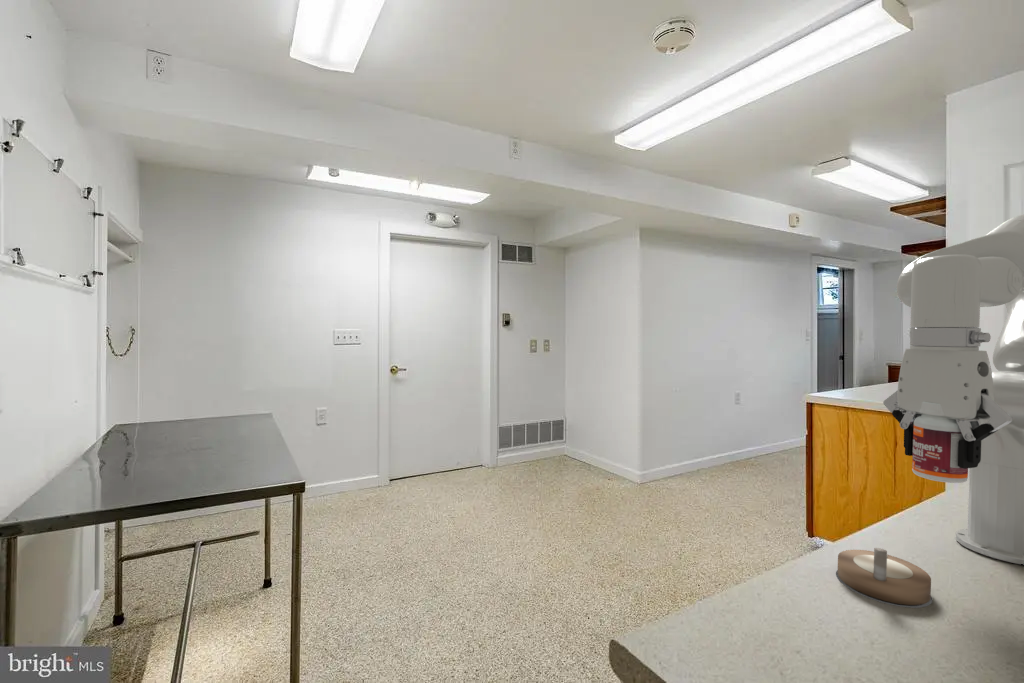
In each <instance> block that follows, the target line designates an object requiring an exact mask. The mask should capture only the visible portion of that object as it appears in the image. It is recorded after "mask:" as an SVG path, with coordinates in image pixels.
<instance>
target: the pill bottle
mask: <svg viewBox="0 0 1024 683" xmlns="http://www.w3.org/2000/svg"><path fill="white" fill-rule="evenodd" d="M920 412H921V413H925V414H922V416H919V417H917V418H915V420H914V431H913V456H912V461H911V462H912V464H911V470H912V472H913V474H915V475H916V476H918V477H920V478H924V479H926V480H930V481H933V482H934V481H935V482H941V483H948V484H949V483H951V484H953V483H954V484H962V483H965V482H967V481H968V480H969V468H967V469H964V468H960V467H959V466H958V442H959V440H963V435H962V433H961V430H960V428H959V426H958V423H957V421H956V419H949V418H944V417H942V416H945V414H944V412H943V410H942V407H941V405H940V404H938V403H930V402H922V405H921V409H920Z"/></svg>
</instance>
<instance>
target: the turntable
mask: <svg viewBox="0 0 1024 683" xmlns="http://www.w3.org/2000/svg"><path fill="white" fill-rule="evenodd" d="M837 570H838V576H839V578H840V579H841V580H842V581H843V582H844V583H846V584H847V585H849V586H850V587H852V588H854V589H855V590H857V591H859V592H862V593H864V594H866V595H869V596H871V597H874V598H877V599H881V600H884V601H888V602H892V603H898V604H905V605H921V604H925V603H927V602H929V601H930V598H931V596H932V593H931V592H932V577H931V576H930V575H929V573H928V572H926V570H924V569H922V568H921V567H919V566H917V565H916V564H914V563H912V562H909V561H908V560H905V559H902V558H900V557H897V556H894V555H891V554H888V551H887V550H886V549H885V548H881V547H874V549H873V550H867V549H846V550H843V551H840V552H839V553H838V554H837Z"/></svg>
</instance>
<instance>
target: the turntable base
mask: <svg viewBox="0 0 1024 683" xmlns="http://www.w3.org/2000/svg"><path fill="white" fill-rule="evenodd" d="M835 576H836V578H837V580H838V581H839V582H840V584H843V585H844V586H845V587H846V588H847V589H849V590H851V591H853V592H855V593H856V594H858V595H860V596H862V597H865V598H868V599H871V600H872V601H877V602H879V603H882V604H887V605H890V606H896V607H902V608H912V609H913V608H914V609H915V608H918V609H919V608H926V607H928V606H930V605H931V604H932V603H933V596H932V595H931V598H930V601H929V602H927V603H925V604H921V605H905V604H898V603H892V602H888V601H884V600H881V599H877V598H874V597H871V596H869V595H866V594H864V593H862V592H859V591H857V590H855V589H854V588H852V587H850V586H849V585H847V584H846V583H844V582H843V581H842V580H841V579H840V578H839V576H838V569H837V570H836V571H835Z"/></svg>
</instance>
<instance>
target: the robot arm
mask: <svg viewBox="0 0 1024 683" xmlns="http://www.w3.org/2000/svg"><path fill="white" fill-rule="evenodd" d="M896 293H897V296H898V298H899V300H900V301H901V302H902V304H904V305H905V306H907V307H909V308H910V325H909V326H910V331H909V348H905V351H904V353H903V356H902V359H901V364H900V369H899V374H898V380H897V381H898V382H897V390H896V391H895V392H893V393H892V394H890V395H889V396H888V397H886V398H885V399H884V400H883V405H884V407H886V408H887V410H888V411H889V412H890V413H892V414H891V415H892V416H893V418H895V420H896V421H897V422H898V423H899V427H900V428H901V429H903V448H904V455H905V456H910V457H913V431H914V420H915V418H917V417H919V416H922V414H925V413H921V412H920V409H921V405H922V402H930V403H938V404H940V405H941V407H942V410H943V412H944V414H945V416H942V417H944V418H949V419H956V421H957V423H958V426H959V428H960V430H961V433H962V435H963V440H959V442H958V466H959V467H960V468H964V469H967V468H968V499H967V501H968V504H967V505H968V506H967V528H963V529H958V530H957V531H956V532H955V540H956V541H957V542H958V543H959V544H961V545H962V547H965V548H967V549H969V550H970V551H972V552H973V551H974V552H975V553H979V554H981V555H983V556H986V557H989V558H992V559H995V560H996V559H997V560H999V561H1004V562H1008V563H1013V564H1016V565H1021V564H1023V565H1022V566H1024V214H1019V215H1017V216H1013V217H1011V218H1009V219H1007V220H1005V221H1004V222H1002V223H1001V224H999V225H998V226H996V227H995V228H993V229H992V230H991V231H989V232H988V233H986V234H985V235H983V236H978V237H975V238H971V239H968V240H965V241H963V242H960V243H957V244H953V245H950V246H947V247H943V248H940V249H936V250H934V251H931V252H928V253H926V254H924V255H921V256H919V257H917V258H916V259H915V260H913V261H912V262H911V263H909V264H907V266H905V268H904V269H903V270H902V271H901V272H900V275H899V277H898V279H897V282H896ZM1002 305H1005V307H1006V312H1007V316H1006V317H1005V318H1006V319H1005V321H1004V323H1003V326H1002V328H1001V330H1000V333H999V336H998V338H997V341H996V343H995V346H994V349H993V353H992V365H993V366H994V368H995V369H996V370H993V371H992V368H991V362H990V359H989V355H988V352H987V350H980V347H981V344H982V343H989V342H990V341H991V338H992V336H991V333H989V332H983V331H982V329H981V327H980V321H981V320H980V318H981V316H980V315H981V308H991V307H998V306H1002Z"/></svg>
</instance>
